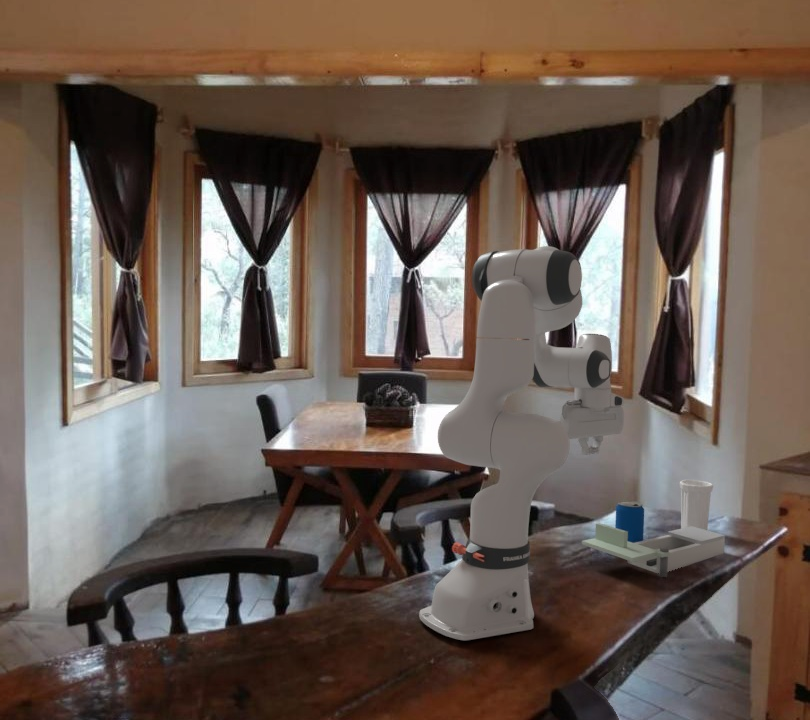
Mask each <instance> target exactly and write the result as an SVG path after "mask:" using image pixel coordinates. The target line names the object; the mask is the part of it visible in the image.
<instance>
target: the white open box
mask: <svg viewBox="0 0 810 720" xmlns="http://www.w3.org/2000/svg"><path fill="white" fill-rule="evenodd" d="M725 543H726V534H722V533H718V532H714V531H711V530H708V529H707V530H704V529H700V528H697V527H693V526H690V527H686V528H681V527H680V528H679V529H674V530H673V529H672V530H669V531H667V534H666V535H661V536H657V537H652V538H648V539H645V540H644V539H643V541H640V542H635V544H638V545H641V546H645V547H648V548H651V549H654V550H657V549H660V547H666V548H669V552H670V556H666V557H659V556H653V557H649V558H645V559H641V560H637V561H634V562H632V561H629V560H627V563H628V564H630V565H633V566H635V567H639V568H642V569H643V570H647V571H650V572H652V573H655V574H658V573H659V574H658V576H659V577H660V578H663V577H666V578H668V573H669V571H670V572H672V570H673V571H675V569H676V570H679V569H681V567H682V568H684V567H687V566H690V565H693V564H696V563H699V562H702V561H705V560H707V559H708V560H709V559H711V558H714V557H717V556H720V555H723V554H725V546H726V545H725ZM656 558H657V565H654V566H647V565H646V563H647V561H648V560H652V559H656ZM678 568H679V569H678Z"/></svg>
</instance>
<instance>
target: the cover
mask: <svg viewBox="0 0 810 720" xmlns="http://www.w3.org/2000/svg"><path fill="white" fill-rule="evenodd" d="M627 540H628V532H627V531H624V530H621V529H617V528H615V526H614V527H613V526H612V525H607V524H604V523H600V522H598V523H595V535H594V538H588V539H585V540H581V545H582V546H586V547H587V548H588V547H589V548H592V549H595V550H597V551H600V552H603V553H606V554H609V555H612V556H615V557H618V558H621V559H623V560H627V561H628V560H629V561H632V562H634V561H637V560H641V559H645V558H649V557H653V556H659V557H666V556H670V552H669V548H666V547H660V549H657V550H654V549H651V548H648V547H645V546H641V545H638V544H635V543H632V542H629V541H627Z"/></svg>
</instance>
